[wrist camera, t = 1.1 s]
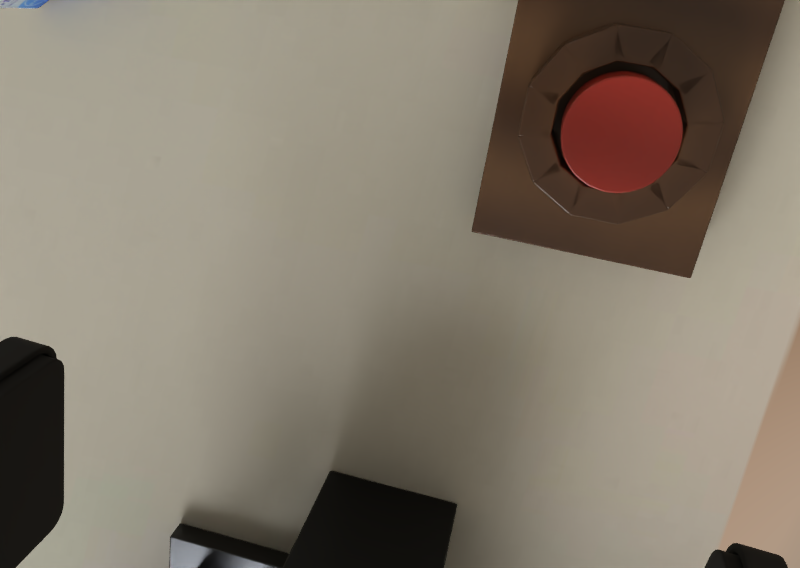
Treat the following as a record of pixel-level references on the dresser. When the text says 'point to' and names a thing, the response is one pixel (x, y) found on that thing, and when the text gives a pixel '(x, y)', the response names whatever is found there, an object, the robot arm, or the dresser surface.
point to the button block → (606, 52)
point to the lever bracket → (218, 551)
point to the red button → (620, 132)
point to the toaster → (372, 527)
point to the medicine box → (21, 3)
